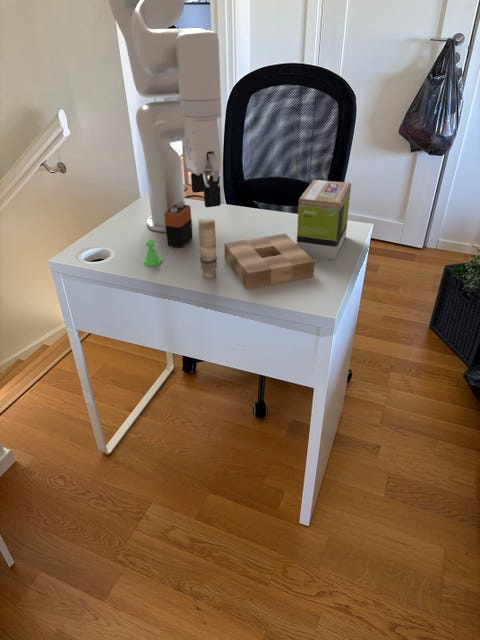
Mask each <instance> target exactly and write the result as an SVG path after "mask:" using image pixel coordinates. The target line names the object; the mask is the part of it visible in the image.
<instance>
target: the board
mask: <svg viewBox="0 0 480 640" xmlns="http://www.w3.org/2000/svg"><path fill="white" fill-rule="evenodd" d="M223 248H224V250H223V251H224V259H225V261H226V262H227V263H228V265H229V266H230V267H231V269H232V270H233V272H234V273H235V274H236V276H237V277H238V279H239V280H240V282H241V283H242V284H243V285H244V286H245V288H246V289H247V290H250V289H257V288H261V287H265V286H272V285H277V284H282V283H288V282H294V281H298V280H304V279H309V278H313V277H314V275H315V265H316V264H315V263H316V261H315V259H313V257H310V256H309V255H308V254H307V253H306V252H305V251H304V250H302V249H301V248H300V247H299V246H298V245H297V242H295V241H294V240H293V239H292V238H291V237H290V236H288V234H286V233H281V234H273V235H268V236H262V237H261V236H260V237H254V238H249V239H243V240H242V239H241V240H236V241H235V240H234V241H229V242H224V243H223Z"/></svg>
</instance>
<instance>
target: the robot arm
mask: <svg viewBox="0 0 480 640" xmlns="http://www.w3.org/2000/svg"><path fill="white" fill-rule="evenodd" d="M107 1H108V3H109V4H108V5H109V7H110V10H111V12H112V16H113V19H115V22H116V24H117V26H118V28H119V30H120V32H121V34H122V37H123V38H124V42H125V45H126V50H127V56H128V61H129V65H130V70H131V75H132V79H133V84H134V86H135V89H136V92H137V93H138V95H139V96H140V97H142V98H145V99H158V98H159V99H160V98H176V97H179V100H177V99H176V100H163V101H153V102H148V103H145V104H142V105H141V106H140V107H139V108H138V109H137V111H136V113H135V121H136V126H137V131H138V135H139V138H140V141H141V145H142V150H143V157H144V166H145V172H146V179H147V181H146V182H147V187H148V196H149V204H150V205H149V206H150V213H151V216H149V217H148V218H147V220H146V226H147V227H148V229H150V230H152V231H154V232H160V233H166V225H165V215H164V213H165V212H166V211H167V210H169V209H170V208H171V207H173V206H174V205H175V204H176V203H177V202H184V205H186V200H185V198H186V197H185V187H184V186H185V185H184V174H183V163H182V157H181V156H180V155H179V153H178V152H177V151H176V149H174V148H173V147H172V146H171V144H172V143H176V142H184V157H185V159H184V160H185V164H186V167H188V168H189V170H190V172H191V173H190V177H191V178H190V181H191V191H192V193H193V194H195V193H203V199H204V207H205V208H214V207H220V206H221V205H222V200H221V199H222V198H221V176H220V172H221V163H222V162H221V161H222V159H221V143H220V132H219V131H220V130H219V121H218V119H220V118H222V98H221V70H220V67H221V66H220V64H221V63H220V42H219V37H218V35H217V33H216V32H214V31H211V30H206V29H204V28H199V27H198V28H197V27H195V28H169V27H172V26H173V25H174V24H176V23H177V22H178V21H179V19H180V18H181V16H182V14H183V11H184V8H185V3H186V2H187V1H188V0H107ZM191 222H192V223H193V221H192V218H191Z"/></svg>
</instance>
